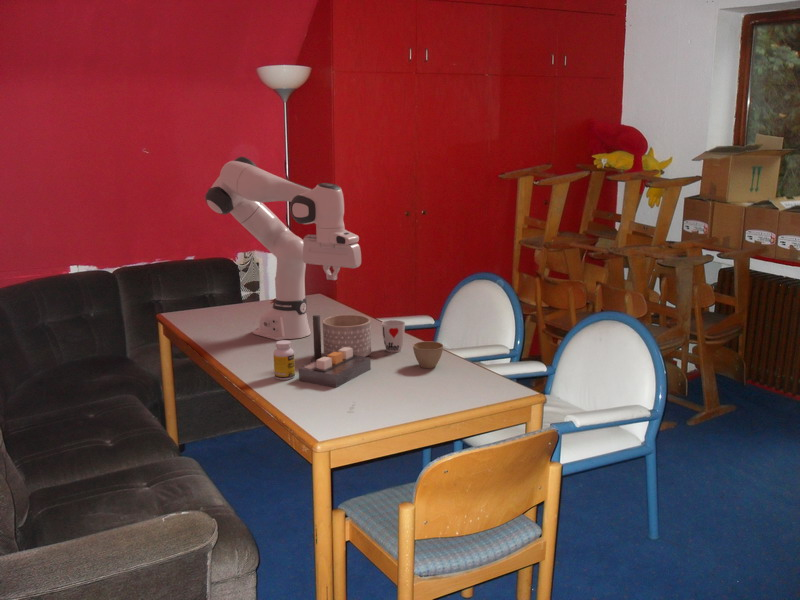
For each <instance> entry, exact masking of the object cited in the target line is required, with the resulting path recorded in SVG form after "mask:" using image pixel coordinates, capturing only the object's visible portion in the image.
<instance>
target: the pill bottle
mask: <svg viewBox="0 0 800 600" xmlns="http://www.w3.org/2000/svg"><path fill="white" fill-rule="evenodd" d="M291 346H292V342H291V340H289V339H283V340H276V342H275V347H276V349H275V350H274V351H273V372H274V378H275V379H277V380H279V381H280V380H281V381H285V380H286V381H287V380H291V379H293V378H295V375H296V367H295V366H296V365H295V363H296V362H295V351H294V350H293V348H291Z"/></svg>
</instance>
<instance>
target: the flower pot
mask: <svg viewBox="0 0 800 600" xmlns="http://www.w3.org/2000/svg"><path fill="white" fill-rule="evenodd" d="M412 348H413V353H414V357H415V359H416V361H417V363H418V365H419V366H420V367H421V368H423V369H433V368H435V367H436V366H437V365H438V364H439V361H440V360H441V357H442V354H443V351H444V344H443V343H441V342H438V341H431V340H430V341H429V340H428V341H427V340H426V341H425V340H424V341H418V342H415V343H413V344H412Z"/></svg>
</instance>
